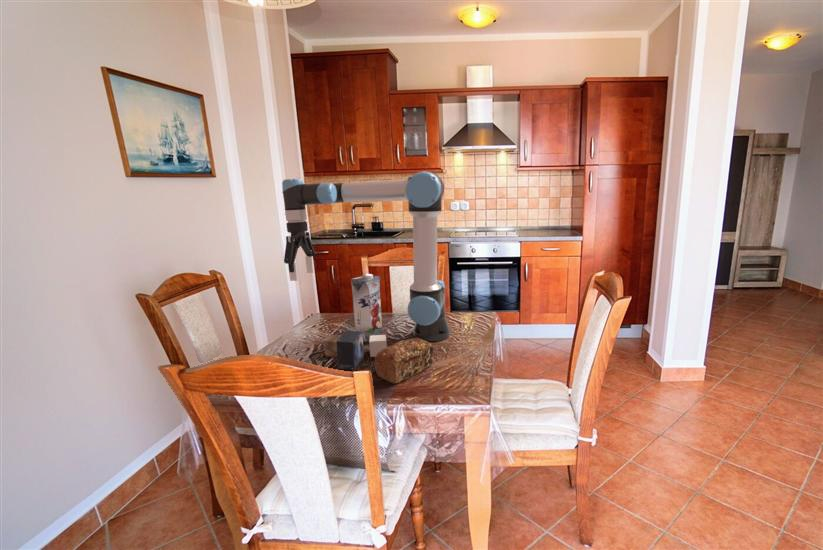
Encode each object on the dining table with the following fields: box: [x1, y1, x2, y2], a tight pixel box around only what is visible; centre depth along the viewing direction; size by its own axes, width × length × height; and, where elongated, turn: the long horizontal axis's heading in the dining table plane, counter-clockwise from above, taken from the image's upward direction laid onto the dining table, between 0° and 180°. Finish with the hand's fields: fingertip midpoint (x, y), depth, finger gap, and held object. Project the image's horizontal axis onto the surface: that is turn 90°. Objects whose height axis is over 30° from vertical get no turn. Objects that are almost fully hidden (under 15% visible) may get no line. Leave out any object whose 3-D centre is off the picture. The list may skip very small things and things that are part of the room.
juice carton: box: [350, 273, 383, 344], centre depth 158 cm, size 9×10×27 cm
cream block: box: [368, 334, 388, 358], centre depth 146 cm, size 6×6×6 cm
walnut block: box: [323, 334, 342, 358], centre depth 147 cm, size 6×6×6 cm
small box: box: [336, 330, 365, 371], centre depth 137 cm, size 11×6×10 cm, turn 168°
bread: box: [374, 337, 435, 384], centre depth 130 cm, size 19×11×10 cm, turn 136°
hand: (302, 276), depth 152 cm, fingers open, 13 cm apart
